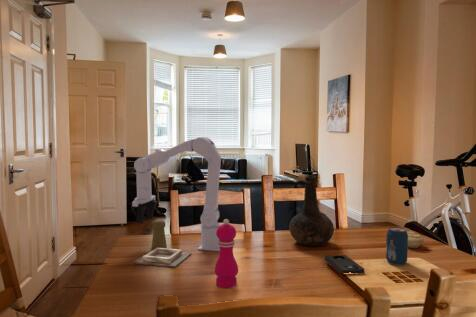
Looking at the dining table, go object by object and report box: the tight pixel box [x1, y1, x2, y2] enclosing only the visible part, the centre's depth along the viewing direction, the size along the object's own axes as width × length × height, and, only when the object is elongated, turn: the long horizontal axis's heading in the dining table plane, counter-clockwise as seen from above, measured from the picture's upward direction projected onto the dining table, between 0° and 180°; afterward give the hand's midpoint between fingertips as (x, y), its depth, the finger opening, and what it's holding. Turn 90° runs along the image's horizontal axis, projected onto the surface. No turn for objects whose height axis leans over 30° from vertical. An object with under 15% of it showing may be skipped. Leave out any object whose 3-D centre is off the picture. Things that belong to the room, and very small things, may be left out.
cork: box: [151, 219, 168, 250], centre depth 149 cm, size 6×6×11 cm
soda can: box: [385, 226, 409, 266], centre depth 131 cm, size 7×7×12 cm
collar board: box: [133, 248, 192, 269], centre depth 136 cm, size 16×14×2 cm
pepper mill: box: [214, 218, 239, 289], centre depth 113 cm, size 7×7×20 cm
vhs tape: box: [324, 254, 365, 275], centre depth 128 cm, size 14×8×2 cm, turn 10°
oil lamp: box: [406, 230, 425, 249], centre depth 153 cm, size 11×14×5 cm
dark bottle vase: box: [288, 175, 335, 247], centre depth 154 cm, size 18×18×28 cm
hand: (144, 220), depth 151 cm, fingers open, 7 cm apart
